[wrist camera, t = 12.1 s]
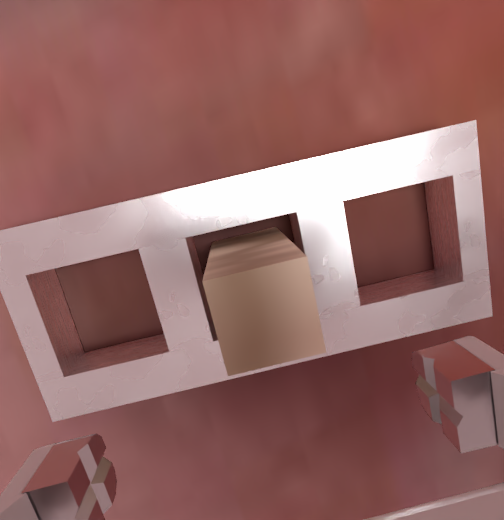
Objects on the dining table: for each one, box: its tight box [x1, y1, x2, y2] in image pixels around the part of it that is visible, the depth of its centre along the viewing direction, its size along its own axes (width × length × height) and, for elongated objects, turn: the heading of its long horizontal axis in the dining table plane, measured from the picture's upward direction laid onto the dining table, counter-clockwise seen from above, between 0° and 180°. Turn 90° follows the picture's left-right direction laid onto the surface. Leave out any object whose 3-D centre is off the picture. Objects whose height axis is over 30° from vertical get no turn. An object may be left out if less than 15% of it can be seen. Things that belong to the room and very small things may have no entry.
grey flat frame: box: [0, 120, 493, 422], centre depth 21 cm, size 26×11×3 cm, turn 103°
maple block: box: [202, 227, 326, 376], centre depth 18 cm, size 4×4×9 cm
